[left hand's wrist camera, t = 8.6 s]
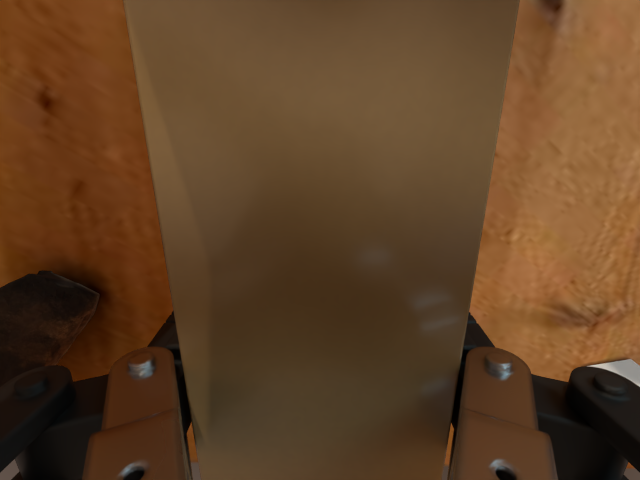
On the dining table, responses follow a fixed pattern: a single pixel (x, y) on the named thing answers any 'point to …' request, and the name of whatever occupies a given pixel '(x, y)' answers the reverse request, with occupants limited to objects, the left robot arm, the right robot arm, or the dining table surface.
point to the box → (321, 220)
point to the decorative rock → (40, 321)
